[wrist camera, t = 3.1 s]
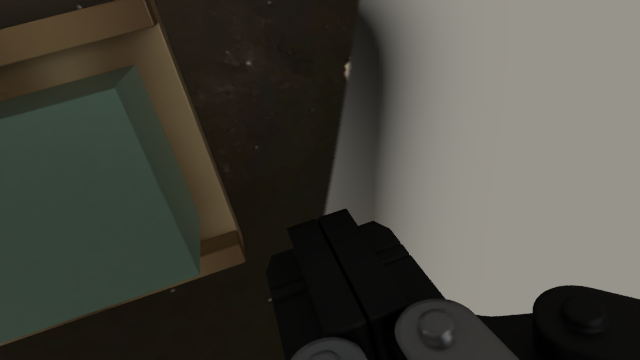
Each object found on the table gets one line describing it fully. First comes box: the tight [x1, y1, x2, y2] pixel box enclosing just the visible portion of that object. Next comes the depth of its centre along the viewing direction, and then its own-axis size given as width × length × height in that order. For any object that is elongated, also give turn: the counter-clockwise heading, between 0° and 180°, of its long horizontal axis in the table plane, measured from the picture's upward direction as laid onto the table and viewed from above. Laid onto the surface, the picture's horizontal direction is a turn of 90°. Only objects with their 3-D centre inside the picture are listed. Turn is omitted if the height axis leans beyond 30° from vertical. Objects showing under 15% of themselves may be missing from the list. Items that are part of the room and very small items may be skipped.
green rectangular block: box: [0, 65, 201, 343], centre depth 17 cm, size 11×8×5 cm
